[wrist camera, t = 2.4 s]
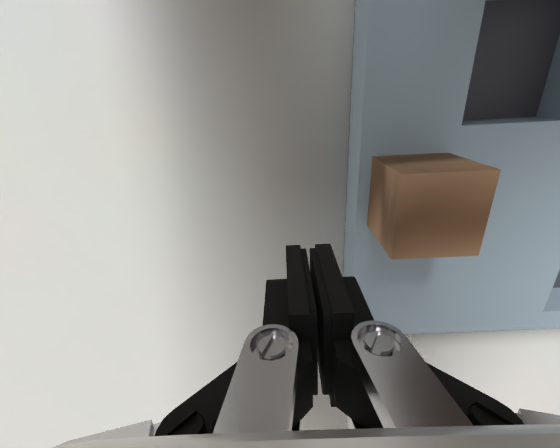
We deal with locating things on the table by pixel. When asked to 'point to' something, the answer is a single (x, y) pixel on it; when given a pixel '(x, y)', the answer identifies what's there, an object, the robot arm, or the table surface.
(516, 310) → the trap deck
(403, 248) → the walnut cube
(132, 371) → the table surface
